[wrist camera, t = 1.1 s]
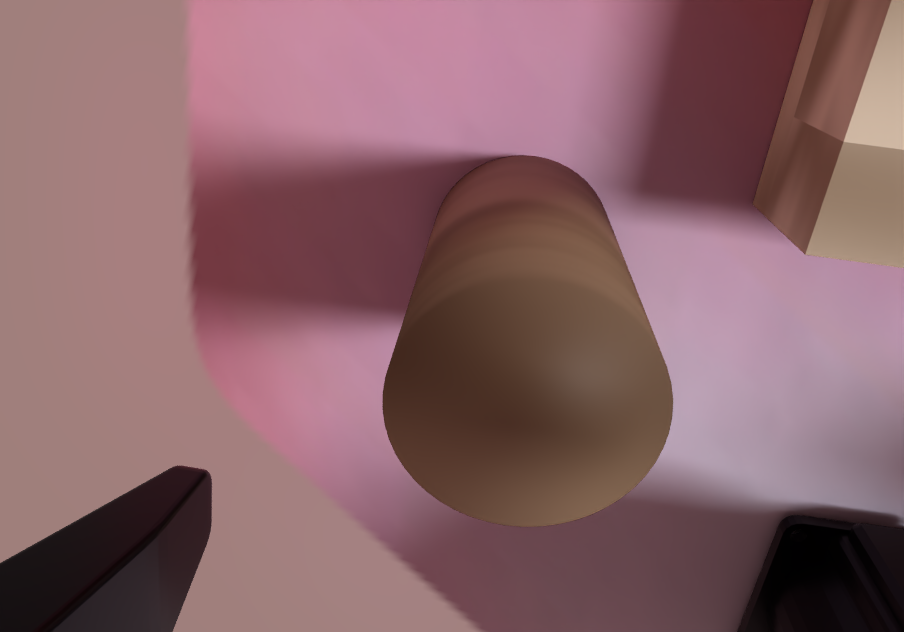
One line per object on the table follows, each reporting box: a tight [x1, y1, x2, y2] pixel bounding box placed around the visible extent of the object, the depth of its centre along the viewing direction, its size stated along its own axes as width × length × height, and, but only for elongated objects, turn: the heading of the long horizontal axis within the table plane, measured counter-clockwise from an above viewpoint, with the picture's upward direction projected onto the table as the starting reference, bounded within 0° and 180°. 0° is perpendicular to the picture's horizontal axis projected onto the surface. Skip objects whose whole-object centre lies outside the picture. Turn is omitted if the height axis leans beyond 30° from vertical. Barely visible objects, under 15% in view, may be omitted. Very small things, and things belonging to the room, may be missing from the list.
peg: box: [383, 155, 673, 527], centre depth 17 cm, size 5×5×9 cm
